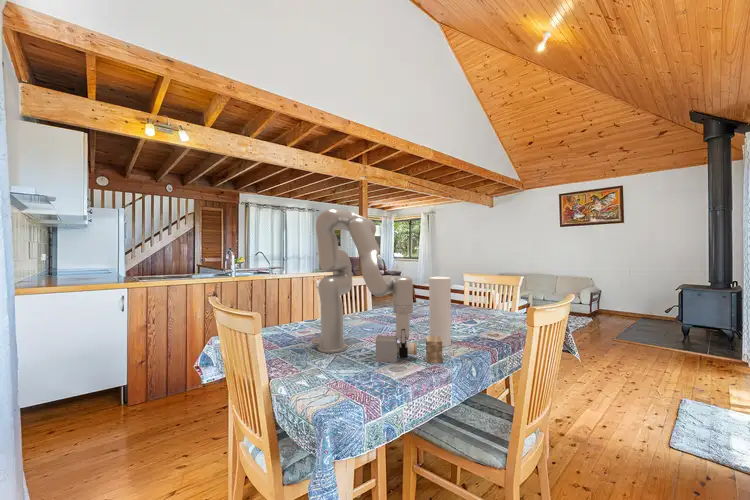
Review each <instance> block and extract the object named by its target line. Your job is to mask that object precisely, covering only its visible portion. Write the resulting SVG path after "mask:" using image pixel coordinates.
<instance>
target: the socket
mask: <svg viewBox="0 0 750 500" xmlns="http://www.w3.org/2000/svg"><path fill="white" fill-rule="evenodd" d="M425 358H426V362H427V363H428V364H442V363H443V347H442V340H441V337H440V336H430V335H429V336H428V335H427V336H425Z"/></svg>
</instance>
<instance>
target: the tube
mask: <svg viewBox="0 0 750 500" xmlns="http://www.w3.org/2000/svg"><path fill="white" fill-rule="evenodd" d="M399 347H400V342H397V355H399ZM407 347H408V355H411V356H413V355H414V356H417V353H418V352H417V351H418V350H417V347H418V346H417V342H413V343H412V342H407Z"/></svg>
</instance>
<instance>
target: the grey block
mask: <svg viewBox="0 0 750 500" xmlns="http://www.w3.org/2000/svg"><path fill="white" fill-rule="evenodd" d="M397 343H398V340H396V335H376V338H375V362H376V363H377V362H378V363H380V362H381V363H382V362H383V363H397V362H398V354H397Z"/></svg>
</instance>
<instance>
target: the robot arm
mask: <svg viewBox="0 0 750 500" xmlns="http://www.w3.org/2000/svg"><path fill="white" fill-rule="evenodd" d="M315 230H316V233H315V234H316V238H317V249H318V261H319V266H320V269H321V270H322V271H323V272H326V273H332V274H330V275H327V276H324V277H322V278H321V279H320V281H319V283H318V286H317V288H318V296H319V302H320V337H319V338H313V337H312V338H311V343H312V345H317V351H319V352H321V353H325V354H326V353H327V354H335V353H341V352H344V351H346V350H348V344H347V343H345V342H344V306H343V300H342V298H341V296H343V295H346V294H348V293H350V292H351V289H352V288H353V276H352V274H353V273H352V265H351V264H352V263H351V259H350V256H349V254H348V253H347V252H346V251H345V250H342V249H339V241H338V236H337V235H336V232H335V230H344V231H348V232H349V234H350V237H351V239H352V241H353V243H354V246H355V248H356V250H357V252H358V254H359V257H360V268H361V275H362V279H363V280H364V282H365V284H366V287H367V289H368V290H369V292H370V293H371V294H372V295H373V296H374V297H377V298H380V297H384V296H387V295H390V294H393V295H392V297H393V298H392V300H393V301H392V302H393V309H392V310H393V314H395V336H396V340H397V341H399V343H400V347H399V354H398V355H399V356H398V358H400V359H408V358H409V354H408V347H407V343H408V341H409V339H410V338H409V337H410V330H411V329H410V328H411V325H410V324H411V323H410V322H411V320H410V317H411V315H410V314H413V313H414V309H413V307H414V306H413V304H414V302H413V301H414V299H413V295H414V292H413V291H414V290H413V288H414V287H413V286H414V285H413V278H412V277H410V276H394V275H382V273H381V270H380V267H379V265H378V257H379V254H380V251H381V247H380V246H379V244H378V242H377V240H376V238H375V234H376V233H377V226H376V223H375V222H374V221H373V220H372V219H371V218H368V217H364V216H362V215H360V214H356V213H355V212H352V211H349V210H343V209H340V208H327V209H325V210H323V211H322V212H320V214H319V215H318V217H317V219H316V222H315Z"/></svg>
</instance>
